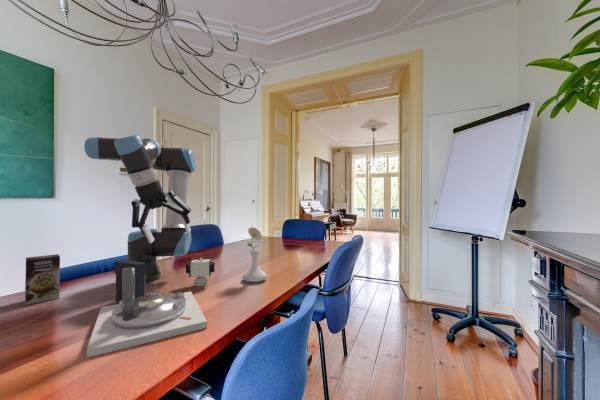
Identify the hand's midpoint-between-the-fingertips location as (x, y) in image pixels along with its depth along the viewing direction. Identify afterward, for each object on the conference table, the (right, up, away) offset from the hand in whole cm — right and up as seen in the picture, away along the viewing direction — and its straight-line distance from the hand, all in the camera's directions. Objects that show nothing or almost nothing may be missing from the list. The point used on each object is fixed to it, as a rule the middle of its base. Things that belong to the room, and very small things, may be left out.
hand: (170, 236), depth 94 cm
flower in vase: (+25, -25, +28) cm, 45 cm away
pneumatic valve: (+3, -24, +20) cm, 32 cm away
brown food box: (-49, -24, +2) cm, 55 cm away
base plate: (0, -25, -13) cm, 28 cm away
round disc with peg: (0, -22, -13) cm, 26 cm away
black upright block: (-15, -24, +1) cm, 29 cm away
